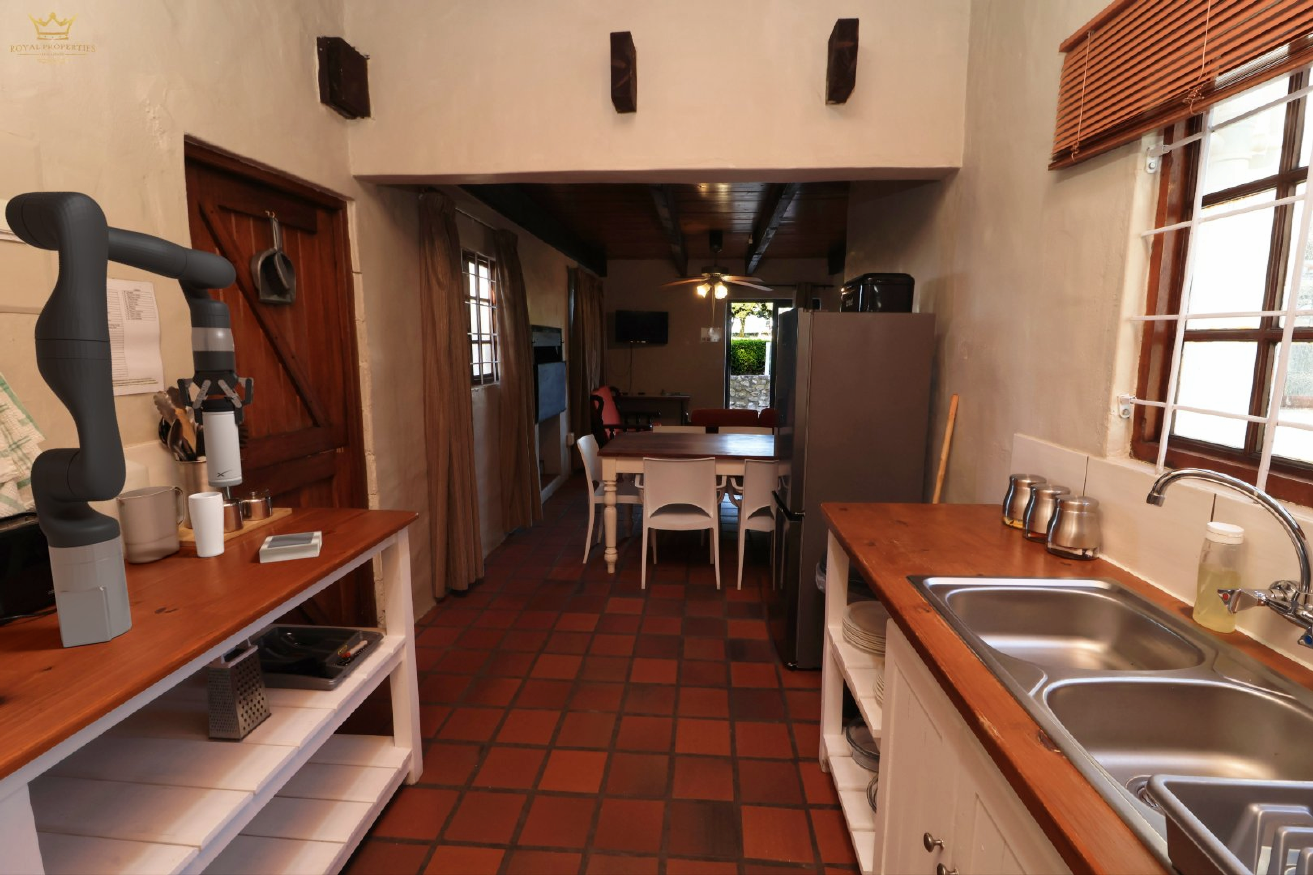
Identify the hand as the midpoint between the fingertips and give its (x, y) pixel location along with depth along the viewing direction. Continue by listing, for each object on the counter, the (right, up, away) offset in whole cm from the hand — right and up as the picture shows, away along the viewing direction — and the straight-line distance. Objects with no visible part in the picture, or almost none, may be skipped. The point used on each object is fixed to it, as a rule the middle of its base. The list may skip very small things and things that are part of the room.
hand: (220, 424), depth 137 cm
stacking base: (+7, -31, +16) cm, 36 cm away
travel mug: (0, -14, +2) cm, 14 cm away
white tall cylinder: (-12, -32, +14) cm, 37 cm away
